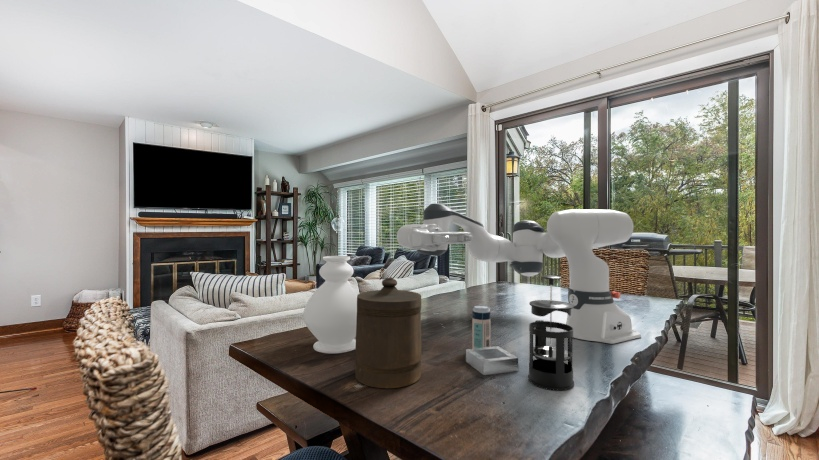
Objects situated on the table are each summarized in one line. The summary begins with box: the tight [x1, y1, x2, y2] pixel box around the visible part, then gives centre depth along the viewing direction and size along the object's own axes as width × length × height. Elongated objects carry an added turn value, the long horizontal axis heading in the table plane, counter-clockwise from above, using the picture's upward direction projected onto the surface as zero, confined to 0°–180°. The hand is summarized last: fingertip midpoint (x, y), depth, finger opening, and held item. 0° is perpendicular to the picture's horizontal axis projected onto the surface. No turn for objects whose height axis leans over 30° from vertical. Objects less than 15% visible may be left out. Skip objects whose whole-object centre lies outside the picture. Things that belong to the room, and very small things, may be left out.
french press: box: [527, 274, 575, 392], centre depth 81 cm, size 12×9×23 cm
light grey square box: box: [465, 345, 519, 376], centre depth 89 cm, size 9×9×3 cm
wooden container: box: [354, 277, 422, 389], centre depth 84 cm, size 15×15×22 cm
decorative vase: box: [303, 255, 361, 354], centre depth 104 cm, size 18×18×25 cm
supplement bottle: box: [471, 304, 491, 349], centre depth 100 cm, size 5×5×12 cm
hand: (459, 238), depth 110 cm, fingers open, 8 cm apart
